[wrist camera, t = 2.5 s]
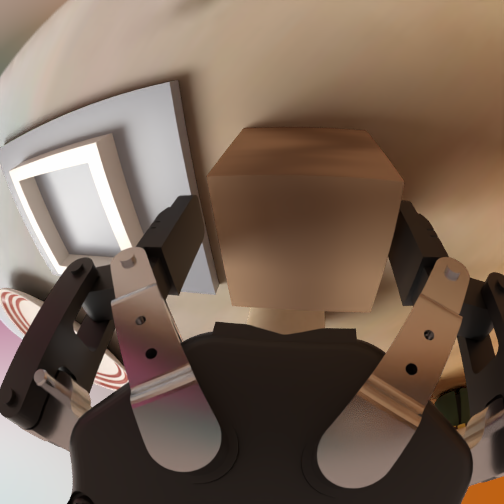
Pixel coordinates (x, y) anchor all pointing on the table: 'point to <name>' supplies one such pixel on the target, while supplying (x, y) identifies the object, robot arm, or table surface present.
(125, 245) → the baseplate
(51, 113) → the table surface
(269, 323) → the candle
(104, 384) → the dinner plate
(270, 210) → the walnut block
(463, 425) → the character mug
